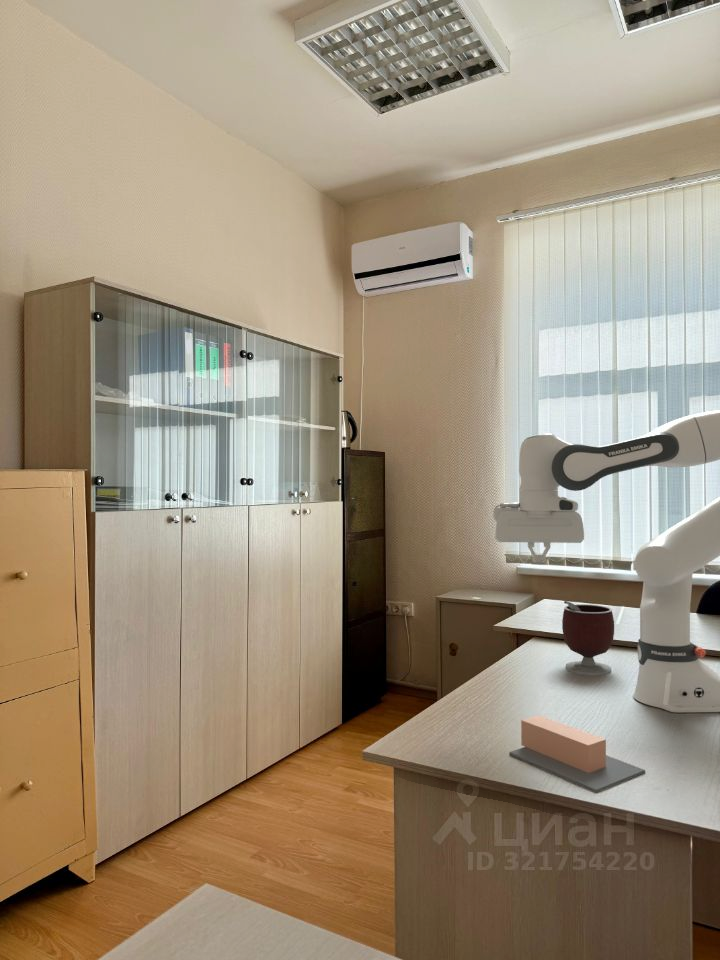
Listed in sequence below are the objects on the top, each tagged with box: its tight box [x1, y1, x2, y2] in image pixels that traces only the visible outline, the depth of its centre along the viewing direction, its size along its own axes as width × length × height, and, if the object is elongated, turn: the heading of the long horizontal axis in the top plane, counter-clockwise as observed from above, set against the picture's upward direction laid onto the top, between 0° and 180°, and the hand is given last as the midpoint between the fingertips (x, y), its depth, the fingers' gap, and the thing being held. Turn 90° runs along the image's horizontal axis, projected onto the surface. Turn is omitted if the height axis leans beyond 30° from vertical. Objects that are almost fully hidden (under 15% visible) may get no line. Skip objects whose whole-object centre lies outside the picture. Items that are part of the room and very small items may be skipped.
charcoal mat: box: [508, 746, 646, 793], centre depth 130 cm, size 20×14×1 cm
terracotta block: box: [520, 714, 607, 773], centre depth 132 cm, size 5×5×16 cm
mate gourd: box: [561, 600, 615, 676], centre depth 194 cm, size 16×14×20 cm
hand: (539, 561), depth 162 cm, fingers closed
